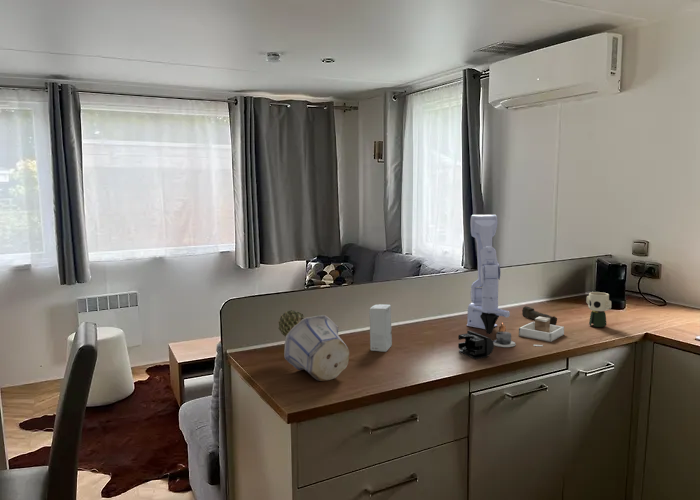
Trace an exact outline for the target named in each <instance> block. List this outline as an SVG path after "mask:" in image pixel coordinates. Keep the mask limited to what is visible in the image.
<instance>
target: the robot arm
mask: <svg viewBox="0 0 700 500" xmlns="http://www.w3.org/2000/svg"><path fill="white" fill-rule="evenodd" d="M498 221H499V220H498V216H497V215H496V214H495V213H494V214H472V215H470V234H471V237H473V238H475V241H476V252H477V253H476V255H477V258H476V259H477V279H476V280H475V281H473V282H472V284H471V285H470V301H471V302H470V303H469V304H468V306H467V319H466V320H467V324H466V326H467V327H471V328H472V327H473V328H477V329H483V330H485V332H486V335H492V334H493V332H494V329H495V327H497V326H498V324H496V323H497V320H499V317H503V318H509V317H510V314H511V313H510V311H509V310H505V309H501V308H499V281H500V280H501V266H500V264H499V261H498V256H497V250H496V249H495V247H493V237H495V235H496V233H497V230H498Z"/></svg>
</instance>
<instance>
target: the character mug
mask: <svg viewBox="0 0 700 500" xmlns="http://www.w3.org/2000/svg"><path fill="white" fill-rule="evenodd" d="M586 304H587V306H588V309H589V310H590V316H589V323H588V325H589V326H593V327H594V328H595V327H596V328H603V327H606V326H607V317H606V315H607V314H606V311H608V310H611V309H612V300H610V294H609V293H606V292H604V291H603V292H600V291H592V292H589V293H588V295H586Z"/></svg>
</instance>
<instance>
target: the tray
mask: <svg viewBox="0 0 700 500" xmlns="http://www.w3.org/2000/svg"><path fill="white" fill-rule="evenodd" d="M564 335H565V326H560V325H557V324H556V325H550V333H547V332H542V331H536V330H535V321H531V322H529V323H527V324H524V325H523V326H521V327H518V337H523V338H528V339H532V340H537V341H538V340H539V341H545V342H554V341H555V340H557V339H560V337H563V336H564Z"/></svg>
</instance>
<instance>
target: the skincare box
mask: <svg viewBox="0 0 700 500" xmlns="http://www.w3.org/2000/svg"><path fill="white" fill-rule="evenodd" d="M392 331H393V330H392V306H391V304H382V303H376V304H374V305H372V306H371V307H369V344H370V345H369V346H370V351H372V352H380V353H381V352H383V353H386V352H387V351H388V350H389V349H390V348H391V347H392V346H393V345H392V344H393V338H392V337H393V336H392Z"/></svg>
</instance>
